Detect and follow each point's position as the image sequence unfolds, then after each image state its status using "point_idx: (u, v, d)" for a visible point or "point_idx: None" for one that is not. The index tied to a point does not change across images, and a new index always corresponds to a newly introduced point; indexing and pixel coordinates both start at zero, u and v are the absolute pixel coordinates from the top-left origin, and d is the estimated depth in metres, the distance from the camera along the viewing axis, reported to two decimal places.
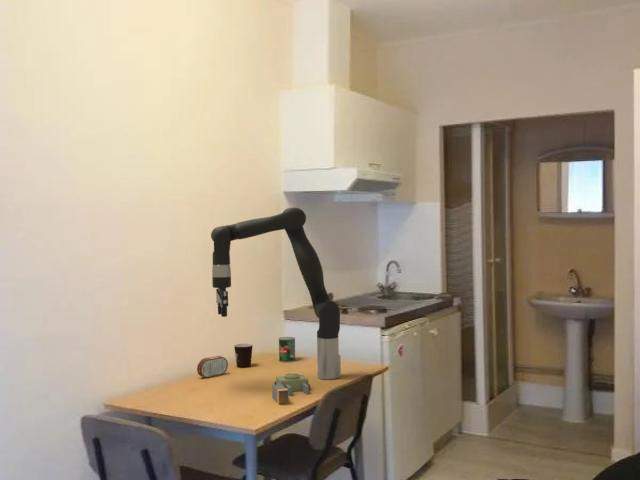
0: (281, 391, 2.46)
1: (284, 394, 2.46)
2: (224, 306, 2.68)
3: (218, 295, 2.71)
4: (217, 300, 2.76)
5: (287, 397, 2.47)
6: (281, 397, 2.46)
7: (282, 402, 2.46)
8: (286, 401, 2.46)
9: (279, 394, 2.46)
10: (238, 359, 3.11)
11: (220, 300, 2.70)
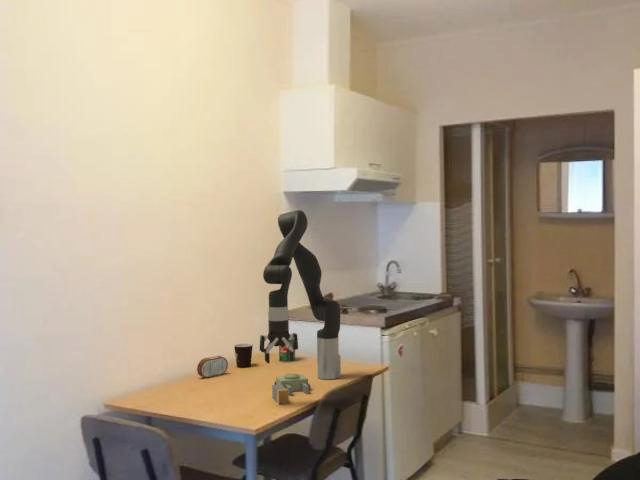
0: (281, 391, 2.46)
1: (284, 394, 2.46)
2: None
3: (286, 339, 2.49)
4: (272, 347, 2.48)
5: (287, 397, 2.47)
6: (281, 397, 2.46)
7: (282, 402, 2.46)
8: (286, 401, 2.46)
9: (279, 394, 2.46)
10: (238, 359, 3.11)
11: (289, 344, 2.50)
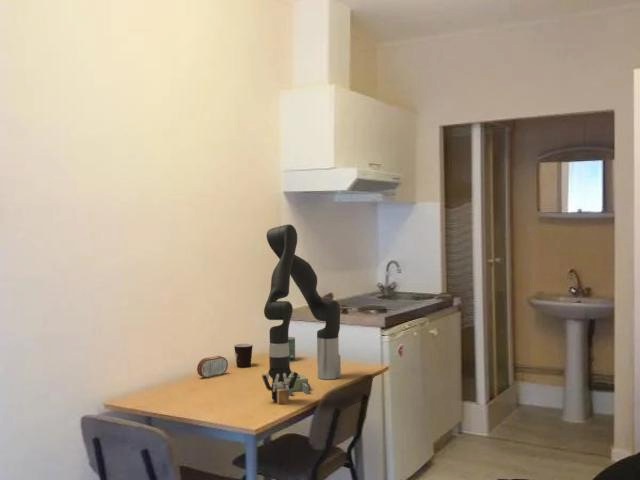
0: (281, 391, 2.46)
1: (284, 394, 2.46)
2: None
3: (286, 376, 2.50)
4: None
5: (287, 397, 2.47)
6: (281, 397, 2.46)
7: (282, 402, 2.46)
8: (286, 401, 2.47)
9: (279, 394, 2.46)
10: (238, 359, 3.11)
11: (287, 382, 2.50)
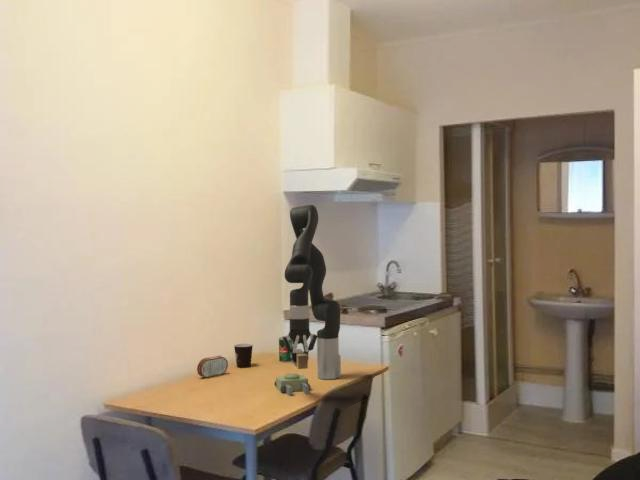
0: (301, 356, 2.52)
1: (303, 359, 2.52)
2: None
3: (306, 338, 2.55)
4: None
5: (306, 362, 2.53)
6: (300, 362, 2.52)
7: (301, 367, 2.52)
8: (305, 366, 2.53)
9: (299, 359, 2.52)
10: (238, 359, 3.11)
11: None
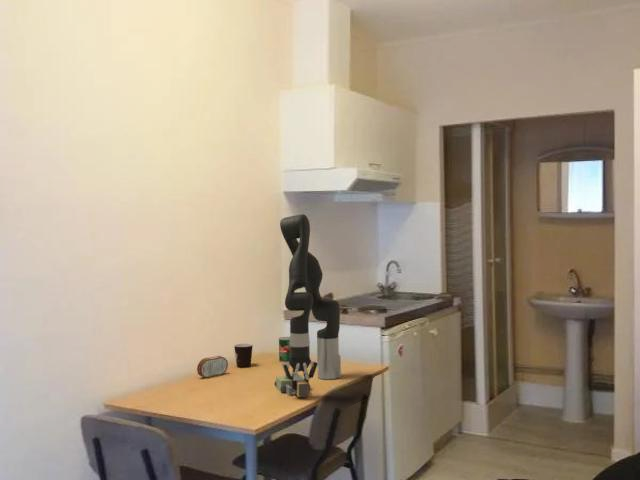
0: (301, 384, 2.52)
1: (304, 387, 2.52)
2: None
3: (306, 366, 2.55)
4: (297, 373, 2.54)
5: (307, 390, 2.53)
6: (301, 390, 2.52)
7: (302, 395, 2.52)
8: (306, 394, 2.53)
9: (299, 387, 2.52)
10: (238, 359, 3.11)
11: (307, 372, 2.56)
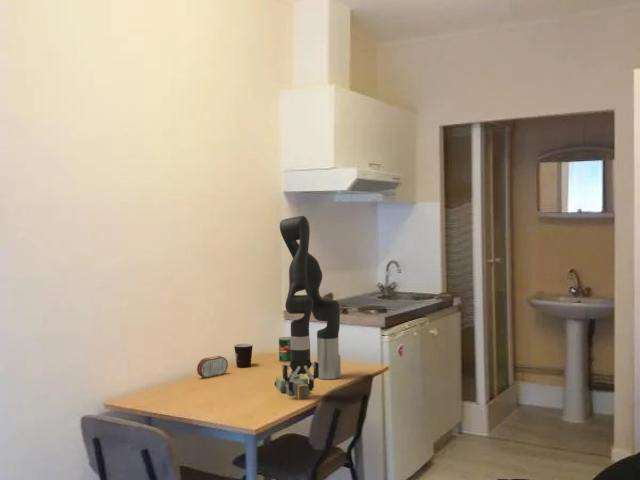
0: (301, 386, 2.52)
1: (304, 389, 2.53)
2: None
3: (307, 368, 2.55)
4: None
5: (307, 392, 2.53)
6: (301, 392, 2.52)
7: (302, 397, 2.53)
8: (306, 396, 2.53)
9: (299, 389, 2.52)
10: (238, 359, 3.11)
11: None
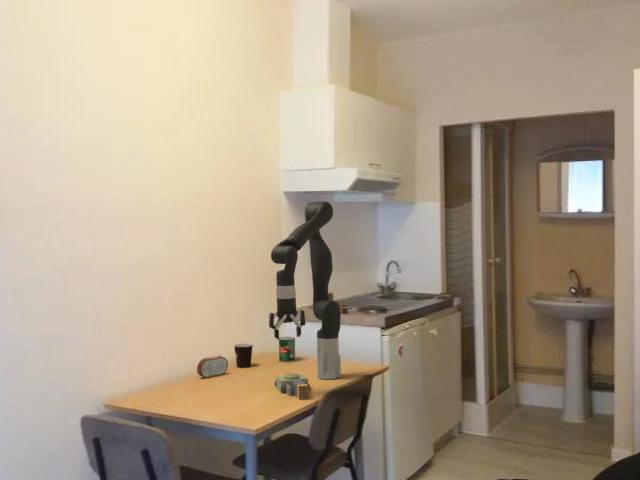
0: (301, 386, 2.52)
1: (304, 389, 2.53)
2: None
3: (294, 316, 2.63)
4: None
5: (307, 392, 2.53)
6: (301, 392, 2.52)
7: (302, 397, 2.53)
8: (306, 396, 2.53)
9: (299, 389, 2.52)
10: (238, 359, 3.11)
11: (297, 320, 2.64)
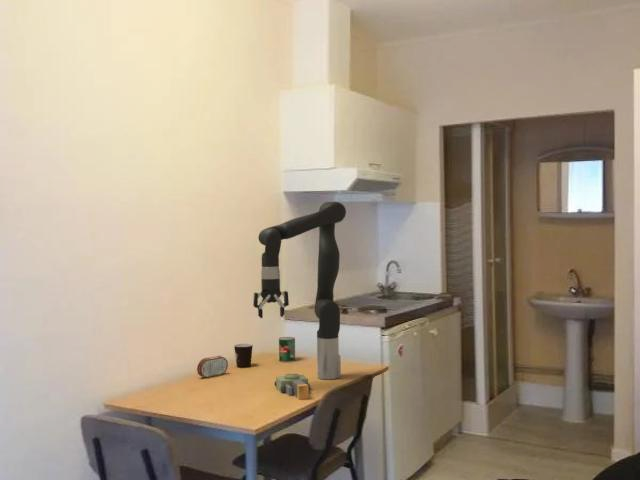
0: (301, 386, 2.52)
1: (304, 389, 2.53)
2: None
3: (277, 296, 2.73)
4: None
5: (307, 392, 2.53)
6: (301, 392, 2.52)
7: (302, 397, 2.53)
8: (306, 396, 2.53)
9: (299, 389, 2.52)
10: (238, 359, 3.11)
11: (281, 301, 2.74)
